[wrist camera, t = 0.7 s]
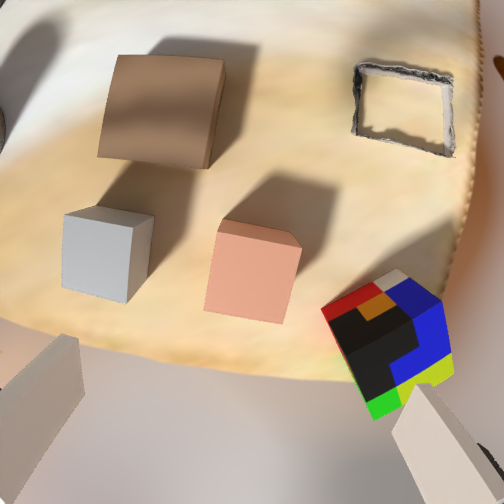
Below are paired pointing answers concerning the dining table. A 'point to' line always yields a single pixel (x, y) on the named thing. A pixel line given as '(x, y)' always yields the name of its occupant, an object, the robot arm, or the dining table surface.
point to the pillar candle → (2, 130)
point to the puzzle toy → (391, 339)
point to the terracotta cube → (252, 272)
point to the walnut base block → (162, 109)
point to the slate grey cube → (106, 252)
